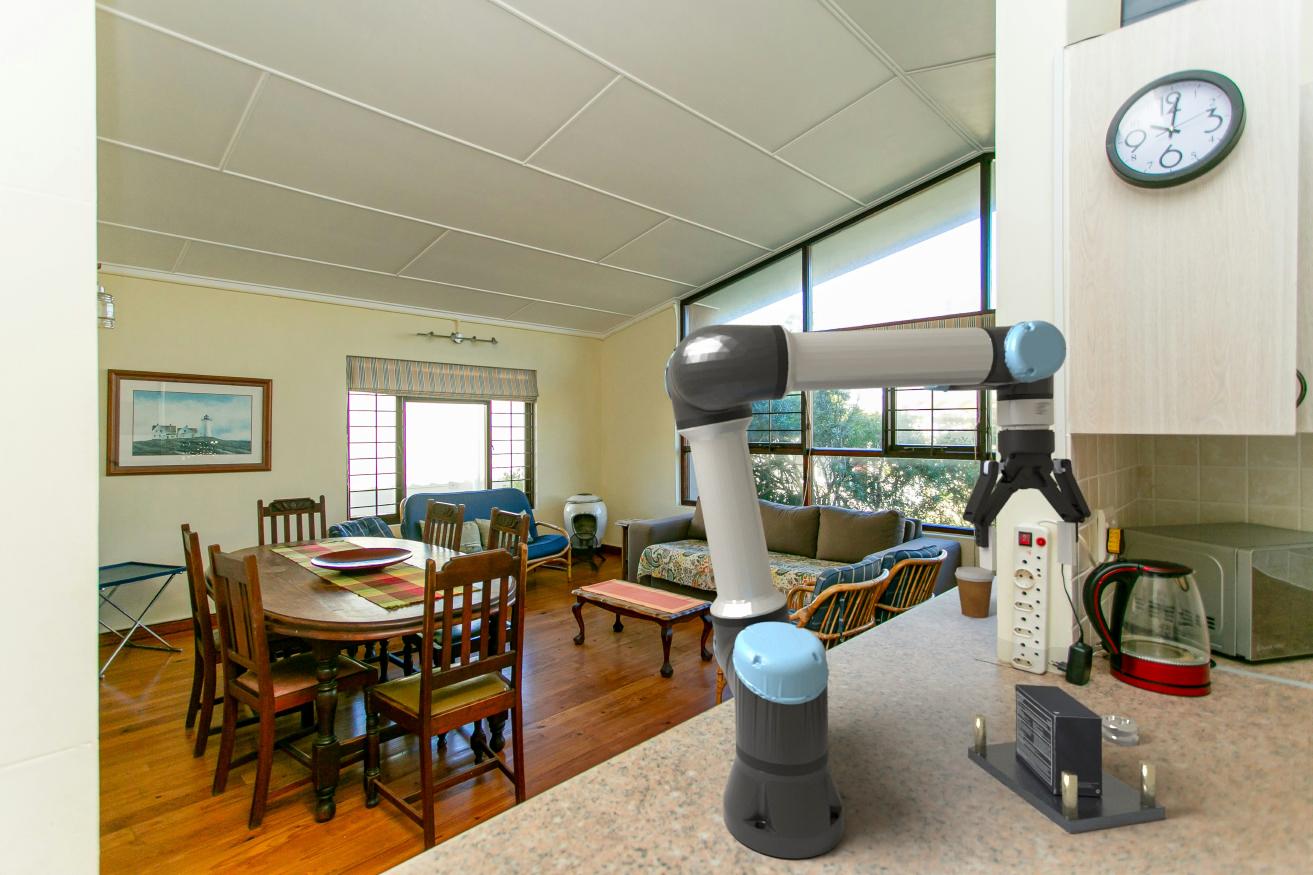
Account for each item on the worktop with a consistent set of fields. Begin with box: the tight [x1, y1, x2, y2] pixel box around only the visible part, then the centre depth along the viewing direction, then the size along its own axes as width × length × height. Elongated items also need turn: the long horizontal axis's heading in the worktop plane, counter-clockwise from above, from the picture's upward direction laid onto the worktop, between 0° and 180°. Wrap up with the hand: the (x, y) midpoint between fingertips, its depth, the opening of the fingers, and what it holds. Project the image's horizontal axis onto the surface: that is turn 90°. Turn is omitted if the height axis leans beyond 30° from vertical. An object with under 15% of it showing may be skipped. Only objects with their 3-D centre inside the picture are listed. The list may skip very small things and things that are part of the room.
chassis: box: [967, 714, 1166, 835], centre depth 84 cm, size 14×18×6 cm
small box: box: [1014, 683, 1103, 796], centre depth 84 cm, size 11×6×10 cm, turn 175°
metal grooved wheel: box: [1100, 714, 1140, 748], centre depth 96 cm, size 5×3×5 cm
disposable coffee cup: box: [954, 566, 996, 619], centre depth 162 cm, size 10×10×12 cm
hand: (1027, 566), depth 93 cm, fingers open, 13 cm apart
